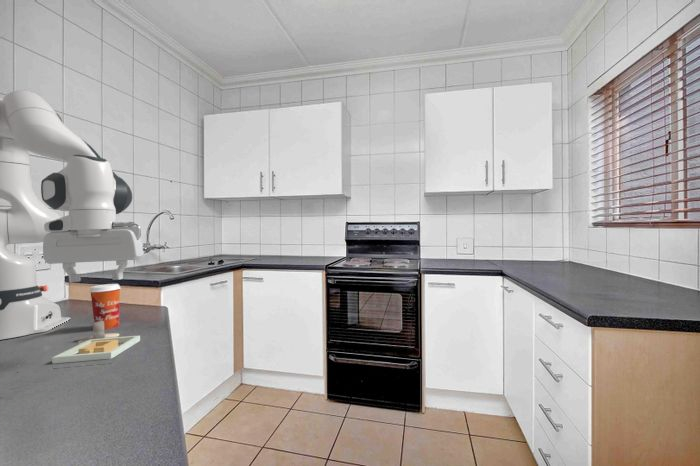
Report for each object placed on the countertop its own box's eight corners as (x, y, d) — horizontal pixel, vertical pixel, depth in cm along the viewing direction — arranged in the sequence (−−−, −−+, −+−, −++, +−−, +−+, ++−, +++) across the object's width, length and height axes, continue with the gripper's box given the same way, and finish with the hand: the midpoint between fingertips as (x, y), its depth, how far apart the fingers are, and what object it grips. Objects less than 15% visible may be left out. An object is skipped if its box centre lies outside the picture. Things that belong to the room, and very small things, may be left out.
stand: (92, 338, 91) (91, 319, 91) (126, 336, 92) (125, 316, 92) (68, 350, 82) (67, 328, 82) (106, 347, 83) (105, 325, 83)
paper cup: (96, 336, 93) (93, 288, 92) (88, 332, 97) (85, 286, 97) (127, 329, 99) (124, 284, 99) (118, 325, 103) (116, 282, 103)
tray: (90, 349, 82) (90, 339, 82) (140, 344, 83) (140, 335, 83) (52, 368, 70) (51, 357, 70) (111, 363, 71) (111, 352, 71)
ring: (94, 351, 79) (94, 341, 79) (118, 349, 79) (117, 339, 79) (74, 362, 72) (73, 351, 72) (100, 359, 73) (99, 349, 73)
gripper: (146, 221, 81) (149, 276, 81) (58, 224, 78) (60, 280, 79) (132, 221, 74) (135, 280, 75) (35, 224, 72) (39, 285, 72)
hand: (96, 280), depth 77 cm, fingers open, 8 cm apart
